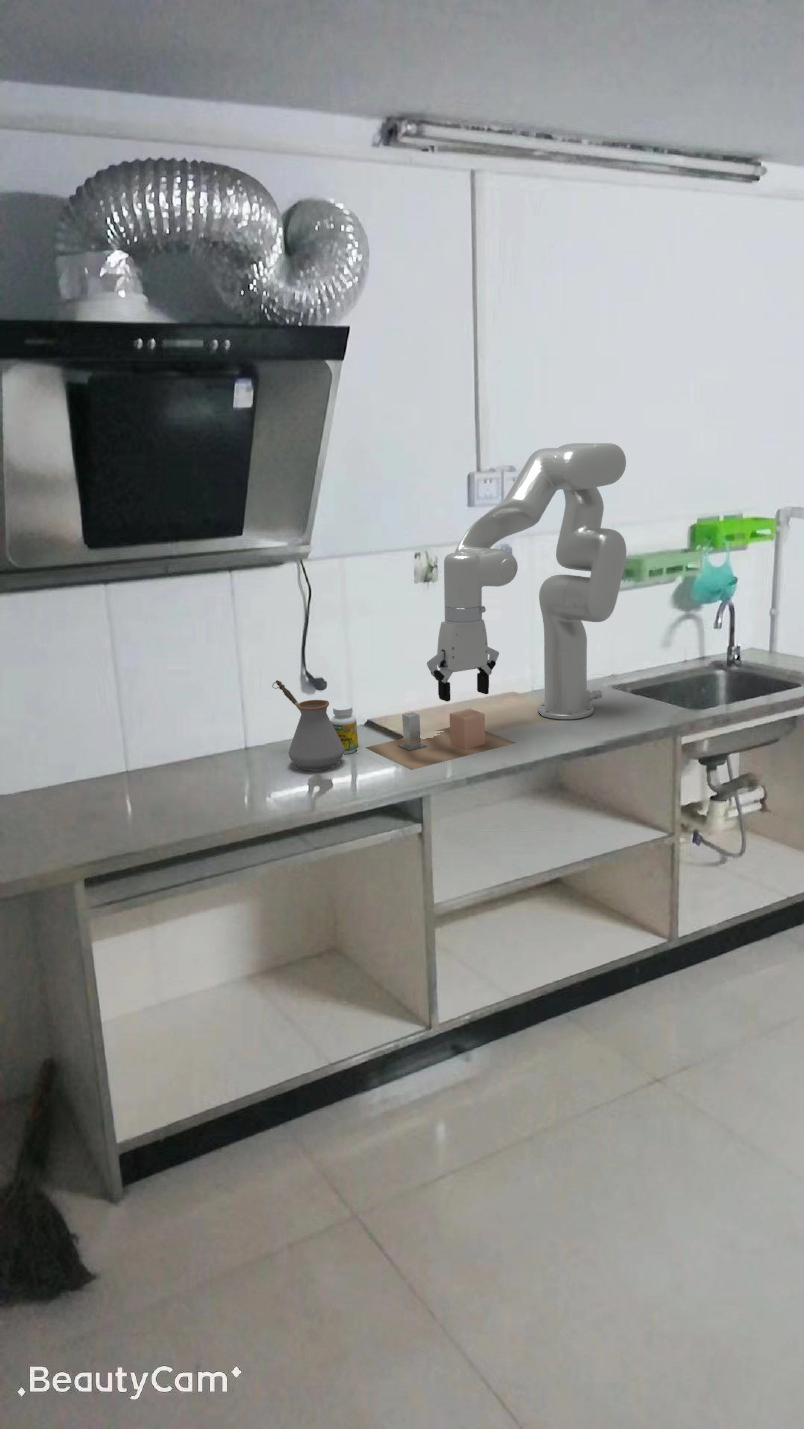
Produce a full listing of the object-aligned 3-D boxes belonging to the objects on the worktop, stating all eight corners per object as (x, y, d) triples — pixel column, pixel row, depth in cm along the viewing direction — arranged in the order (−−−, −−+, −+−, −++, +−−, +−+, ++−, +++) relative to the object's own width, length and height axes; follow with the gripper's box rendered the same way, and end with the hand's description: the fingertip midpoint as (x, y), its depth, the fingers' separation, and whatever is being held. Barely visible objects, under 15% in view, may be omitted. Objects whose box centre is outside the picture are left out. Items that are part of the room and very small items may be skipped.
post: (415, 741, 223) (413, 710, 221) (426, 746, 220) (425, 714, 218) (397, 746, 221) (396, 714, 219) (409, 751, 217) (407, 718, 215)
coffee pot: (356, 765, 213) (351, 693, 209) (306, 778, 207) (301, 705, 203) (304, 741, 230) (299, 674, 226) (257, 752, 224) (251, 684, 220)
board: (465, 726, 235) (465, 723, 234) (515, 746, 220) (515, 742, 220) (365, 751, 221) (364, 747, 221) (411, 773, 207) (411, 769, 207)
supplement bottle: (360, 746, 225) (357, 703, 222) (356, 754, 220) (353, 710, 217) (335, 746, 225) (332, 703, 223) (331, 755, 220) (328, 711, 217)
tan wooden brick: (470, 738, 224) (469, 708, 222) (485, 744, 220) (484, 713, 218) (450, 743, 221) (449, 713, 219) (464, 749, 217) (464, 718, 215)
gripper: (486, 607, 220) (486, 686, 225) (417, 616, 211) (418, 699, 216) (508, 612, 214) (508, 693, 218) (438, 622, 205) (439, 706, 210)
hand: (464, 696), depth 217 cm, fingers open, 9 cm apart
